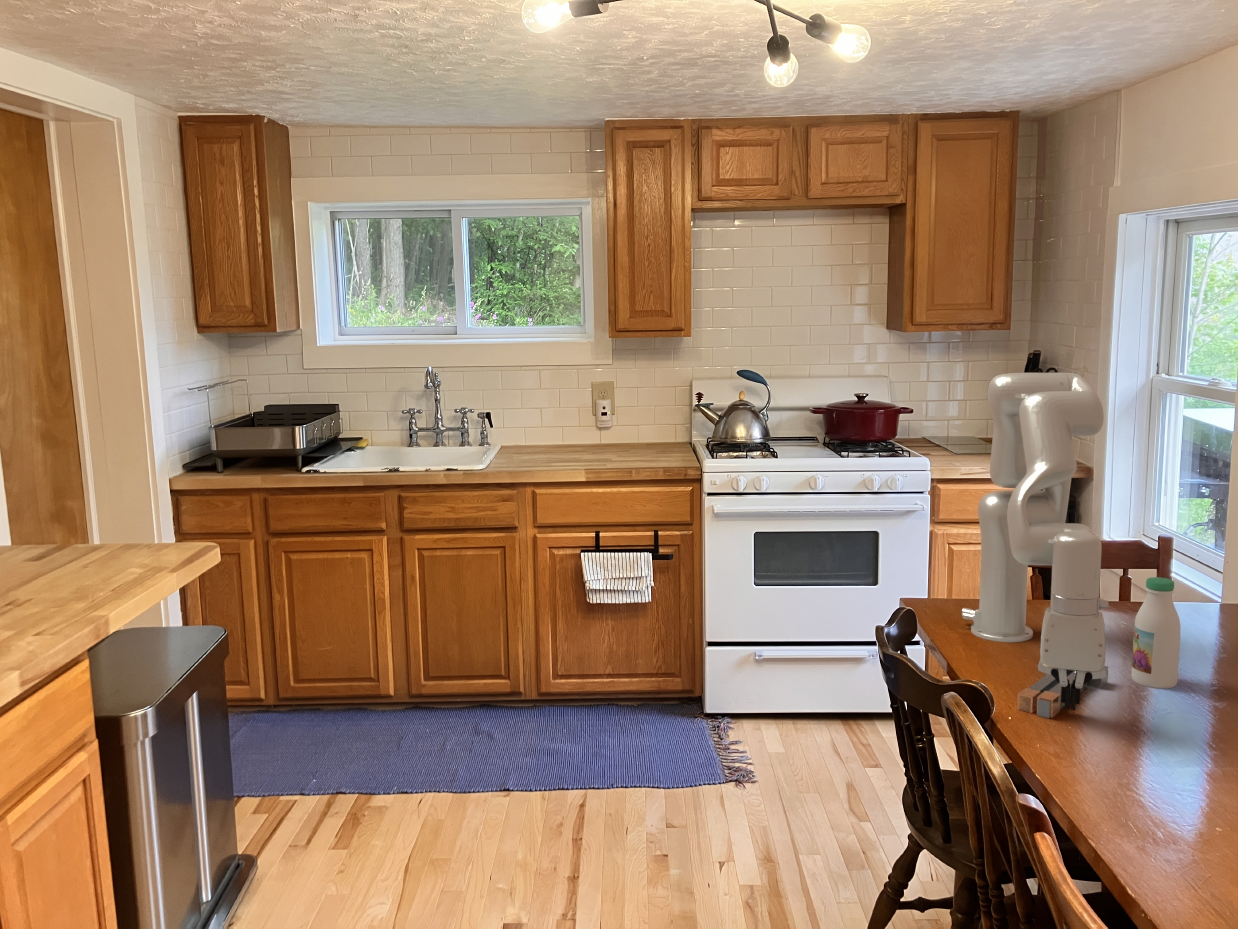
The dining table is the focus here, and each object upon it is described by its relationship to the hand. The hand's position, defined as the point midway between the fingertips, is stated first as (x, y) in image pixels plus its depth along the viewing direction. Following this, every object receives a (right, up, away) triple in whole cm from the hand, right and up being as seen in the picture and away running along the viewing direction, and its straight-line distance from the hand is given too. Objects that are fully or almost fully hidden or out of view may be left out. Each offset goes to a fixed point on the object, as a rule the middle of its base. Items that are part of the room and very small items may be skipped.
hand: (1069, 706), depth 174 cm
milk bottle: (+23, +1, +15) cm, 27 cm away
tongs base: (+2, 0, +10) cm, 10 cm away
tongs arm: (+2, 0, +7) cm, 7 cm away
